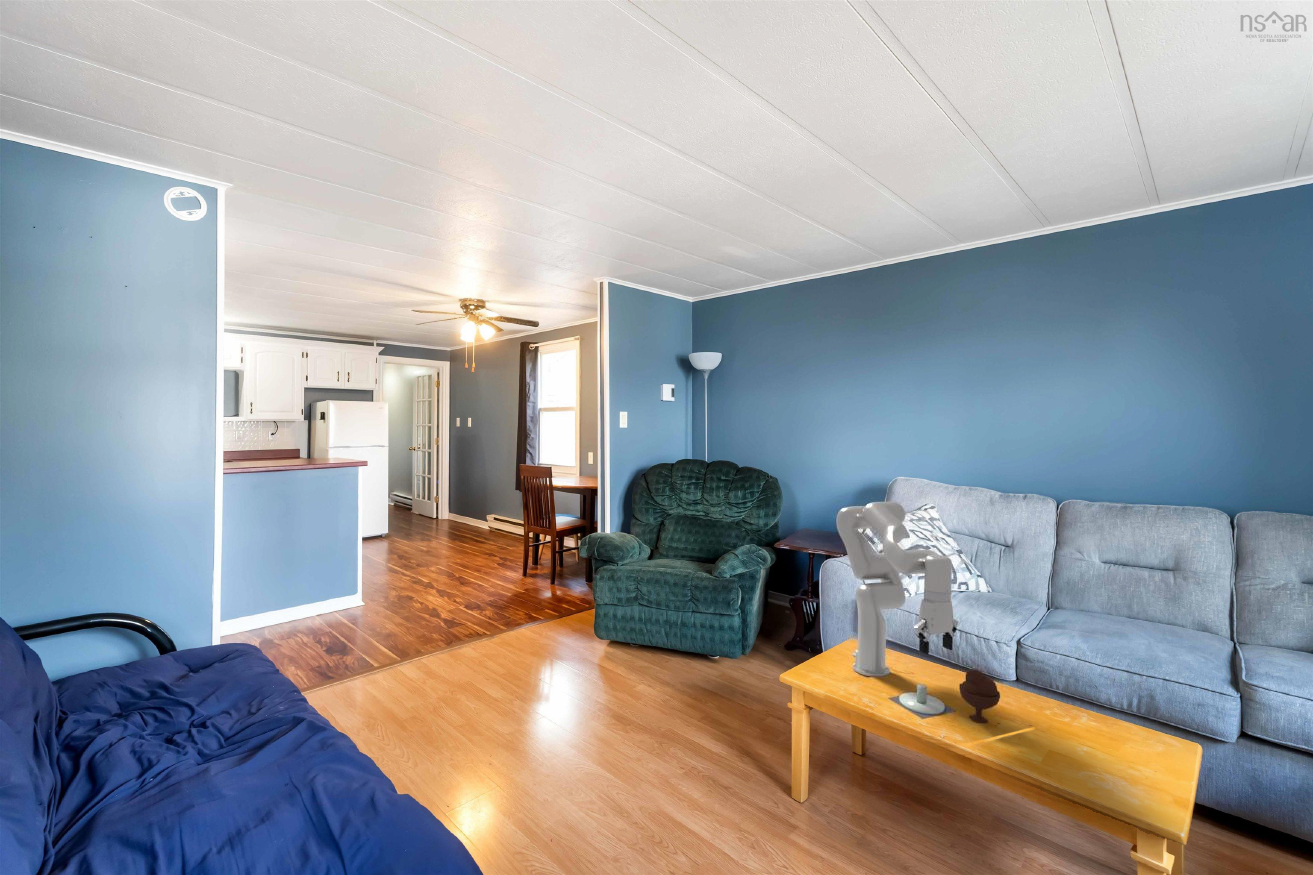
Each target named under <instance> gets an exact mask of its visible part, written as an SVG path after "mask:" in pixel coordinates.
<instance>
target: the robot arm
mask: <svg viewBox="0 0 1313 875" xmlns="http://www.w3.org/2000/svg"><path fill="white" fill-rule="evenodd" d="M905 519H906V512H905V509H904V507H903V506H902V505H901V504H900V503H899V502H897V501H896V502H895V501H874V502H870V503H867V504H866V505H855V506H851V505H850V506H847V507H843V508H841V509H840V510H839V511H838V513H837V515H836V528H837V531H838V535H839V536H840V539H841V540H842V543H843V544H844V547H845V550H846V554H847V557H848V560H849V563H850V567H851V570H852V573H853V575H854V578H856V579H857V580H858V581H859V580H860V581H877V580H878V581H880V582H878V581H877V582H868V583H864V584H861V585H860V586H858V588H857V589H856V592H855V601H856V605H857V616H858V617H857V623H858V624H857V649H856V650H855V651H854V652H853V653H852V654H851V656H852V658H855V661H854V662H853V664H852V669H853V671H855V672H856V673H857V674H860V675H863V676H866V677H871V678H875V677H886V676H888V675H890V674H891V669H890V667H889V666H887V665H886V658H887V657H886V651H887V649H886V646H887V645H886V644H887V622H886V619H885V618H884V616H883V614H882V611H883V610H895V609H899V608H900V609H901V608H902V607H903V606H904V605H905V603H906V593H905V589H904V586H903V583H902V580H901V576H900V574H902V575H924V583H923V584H924V586H923V598H922V599H921V602H920V607H919V613H918V621H917V623H916V624H915V625H914V626H913V630H914V632H915V635H916V636H917V639H918V640H919V642H918V643H919V646H918V647H919V648H918V650H919V652H920V653H923V654H925V655H929V654H930V640H929V639H930V637H931V636H932V635H933V636H934V635H940V634H942V648H945V649H947V650H949V651H952V650H953V645H954V644H953V642H954V640H953V638H954V637H955V633H956V632H957V629H958V625H959V621H958V620H956V619H955V618H954V609H953V608H954V607H953V602H952V577H953V576H952V574H953V573H952V572H953V571H952V570H953V562H952V559H951V558H950V556H949V557H948V556H947V555H942V554H939V553H937V552H935V551H934V550H930V549H908V550H907V549H906V550H904V549H903V548H901V546H900V545H898V544H899V543H900V542H902V541H903V539H905V536H906V534H907V528H906V526H905V524H904V521H905ZM860 529H873V530H874V531H875V532H876V533H877V534H878V535H879V537H880V538H881V539H882V551H883V553H882V552H879V553H874V552H872V550H871V547H870V544H869V541H868V540H867V538H866V537H865V535H864V534H863V533H862V532H861V531H859V530H860Z"/></svg>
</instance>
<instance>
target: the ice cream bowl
mask: <svg viewBox="0 0 1313 875" xmlns="http://www.w3.org/2000/svg"><path fill="white" fill-rule="evenodd" d="M964 678H965V680H964V681H963V682H962V683H959V685H958V686H959V687H958V688H959V693H960V696H961V698H962V699H963V700H964V701H965V702H966V704H968V705H970V706H971V707H973V708H974V709H975V713H974V714H972V715H969V717H968V719H969V720H970V721H972V722H974V723H978V724H983V725H985V724H988V723H989V719H987V718H986V717H984V716H983V711H984V710H987V709H988V710H989V709H992V708H994V707H995V706H997V705H998V703H999V702H1000V698H1001V693H1000V691H999V690H998V687H997V684H996V682H995V681H994V680H993V679H992V678H990V677H988V676H986V675H985V674H984V673H983V671H981V670H979V669H977V668H976V669H975V668H973V669H970V670H968V671H967V672H966V673H965V677H964Z"/></svg>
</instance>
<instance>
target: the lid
mask: <svg viewBox="0 0 1313 875" xmlns="http://www.w3.org/2000/svg"><path fill="white" fill-rule="evenodd" d="M916 692H917V693H916ZM916 692H913V691H912V692H904V693H902V694H900V695H899V696H900V697H899V701H900V703H901V704H902V705H903V706H904V707H905V708H907V709H909V710H911V711H914V712H917V713H922V714H929V715H935V714H940V713H942V712H944V709H945V706H944V704H945V703H943V701H942V700H940V699H938V698H937V697H934V696H932V695H929V694H927V693H928V687H927V685H925V684H921V683H920V684H919V683H918V684H917V686H916ZM905 708H904V709H905ZM907 709H906V710H907Z"/></svg>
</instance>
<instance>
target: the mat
mask: <svg viewBox="0 0 1313 875" xmlns="http://www.w3.org/2000/svg"><path fill="white" fill-rule="evenodd" d="M915 693H917V691H916V692H915ZM899 697H900V695H896V696H891V697H888V698H887V699H889V700H890V701H892V702H893V703H895V704H897V705H899V706H900V707H902V708H903V709H905V710H907V711H908V712H910V713H912V714H914V715H915V716H917V717H918V718H920V719H922V720H923V719H924V720H925V719H928V718H932V717H938V716H941V715H946V714H951V713H955V712H957V710H956V709H954V708H953V707H951V706H949V705H947V704H945V703H943V704H944V706H945V709H944V712H942V713H940V714H935V715H929V714H922V713H917V712H914V711H911V710H909V709H907V708H905V707H904V706H903V705H902V704H901V703H900V701H899Z"/></svg>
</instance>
